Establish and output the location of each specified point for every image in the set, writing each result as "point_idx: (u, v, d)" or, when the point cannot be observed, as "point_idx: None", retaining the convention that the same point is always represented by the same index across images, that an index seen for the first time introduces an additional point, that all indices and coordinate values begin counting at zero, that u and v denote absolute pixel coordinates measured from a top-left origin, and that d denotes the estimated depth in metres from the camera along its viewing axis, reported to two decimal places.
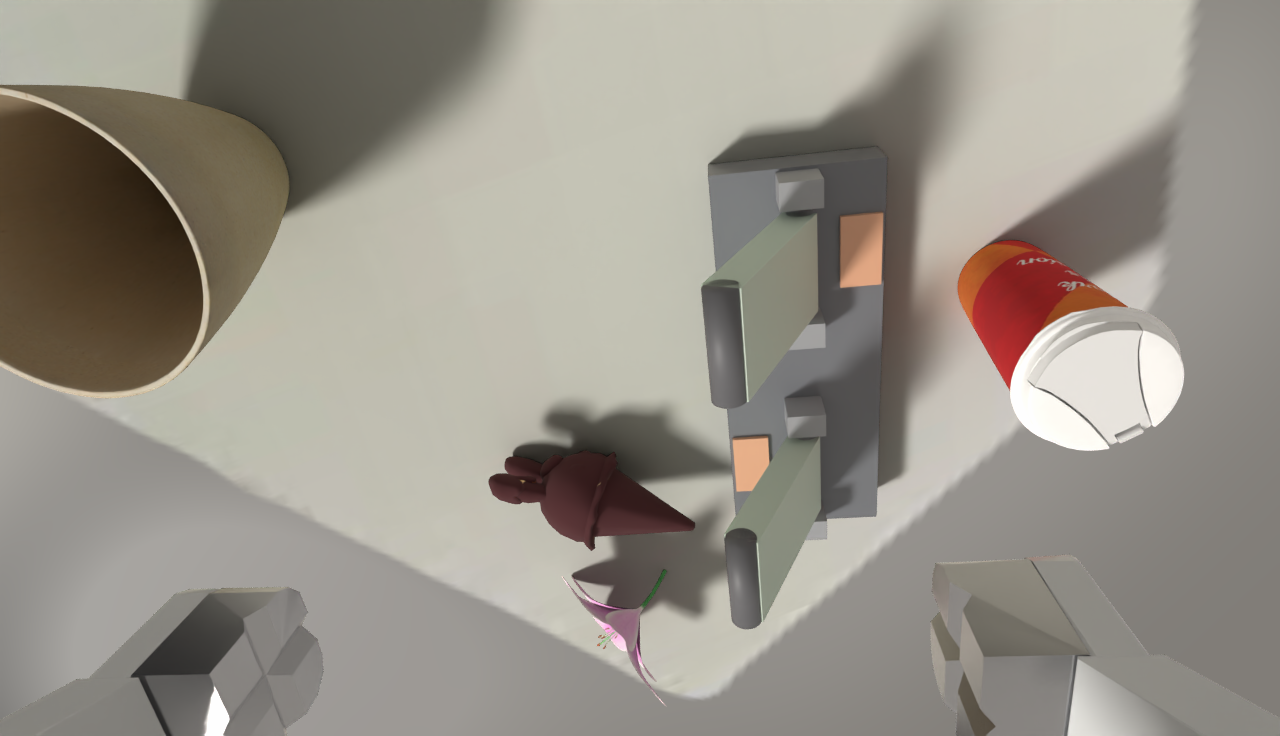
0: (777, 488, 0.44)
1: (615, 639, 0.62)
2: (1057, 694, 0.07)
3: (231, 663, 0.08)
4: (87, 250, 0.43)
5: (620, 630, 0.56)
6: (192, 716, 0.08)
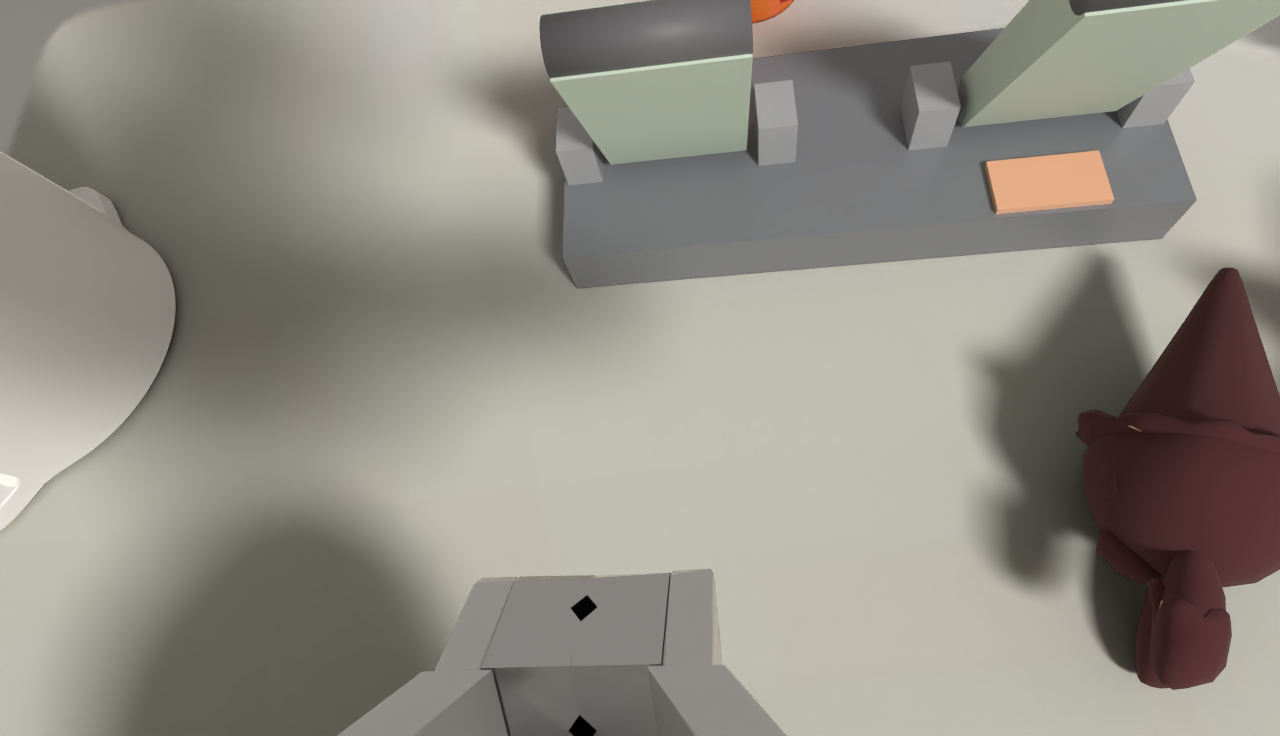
0: (1015, 37, 0.25)
1: None
2: (642, 700, 0.08)
3: (577, 654, 0.08)
4: None
5: None
6: (539, 711, 0.08)
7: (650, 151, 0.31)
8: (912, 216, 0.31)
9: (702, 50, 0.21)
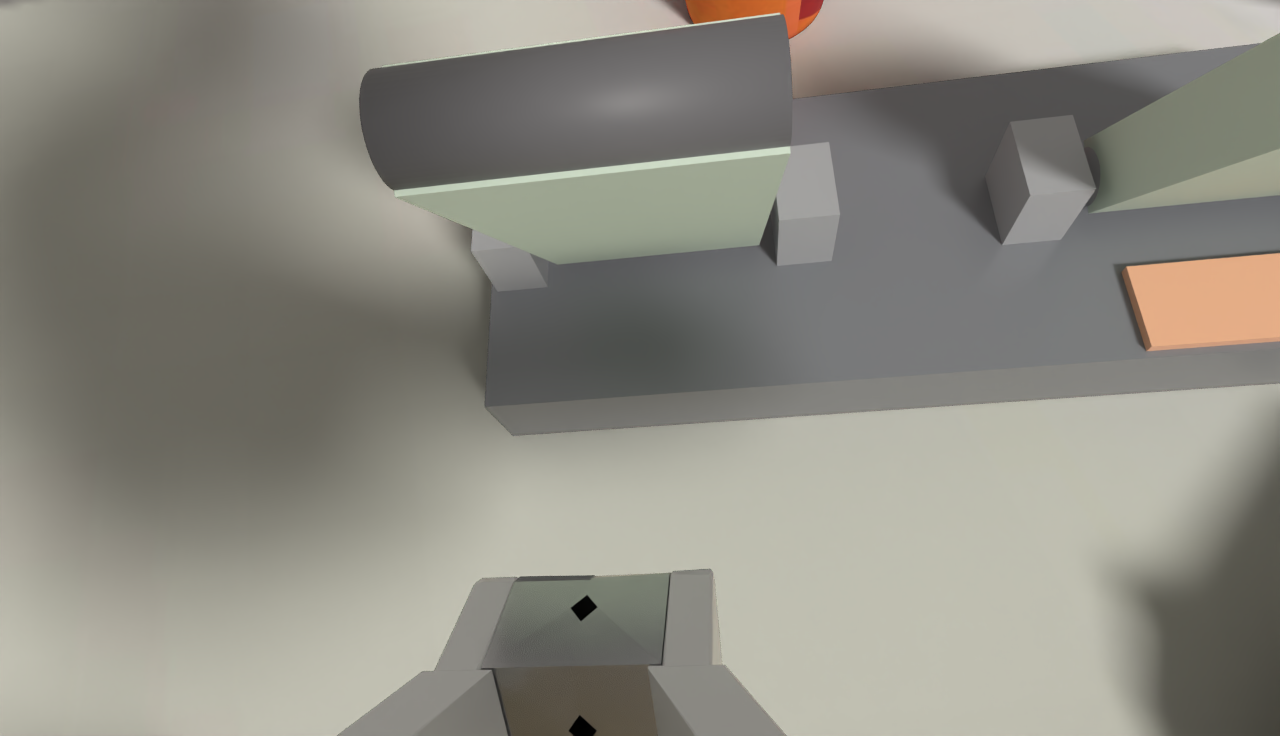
0: (1235, 93, 0.14)
1: None
2: (641, 700, 0.08)
3: (578, 654, 0.08)
4: None
5: None
6: (540, 711, 0.08)
7: (613, 252, 0.21)
8: (1015, 351, 0.20)
9: (689, 142, 0.11)
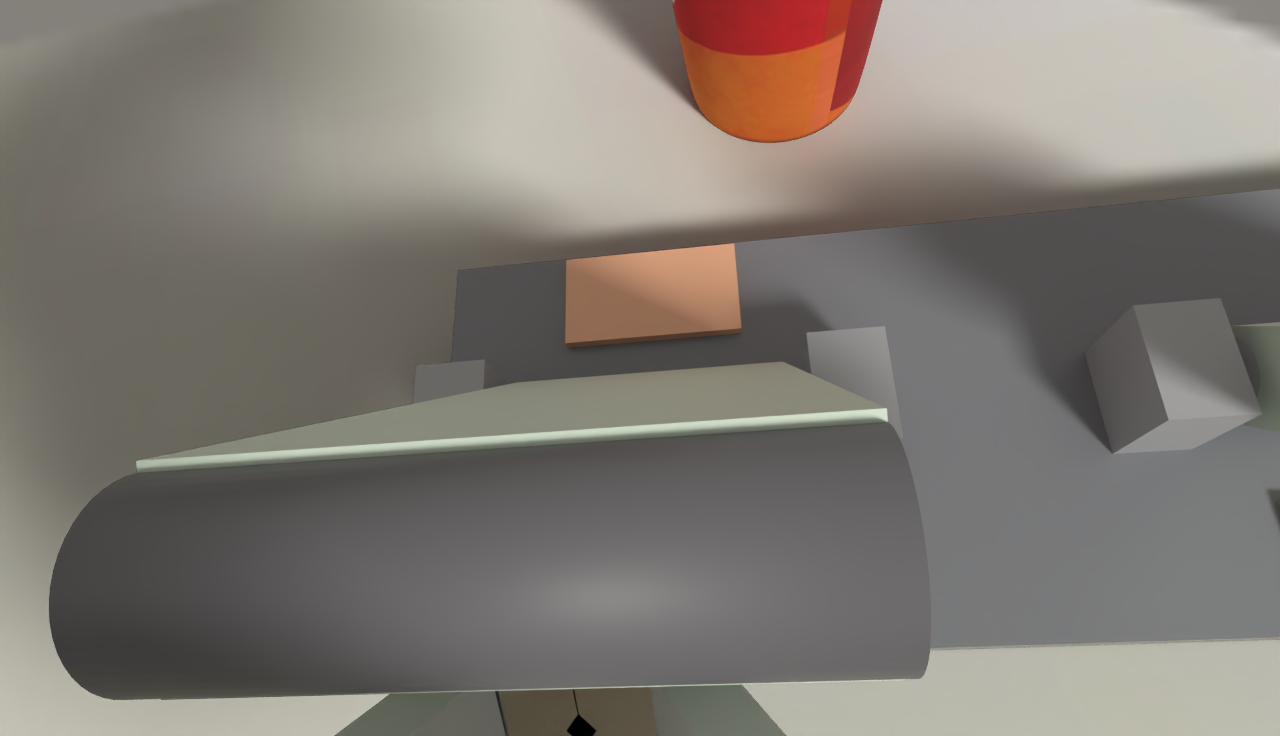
0: None
1: None
2: (641, 701, 0.08)
3: None
4: None
5: None
6: (538, 711, 0.08)
7: None
8: (1138, 616, 0.15)
9: None
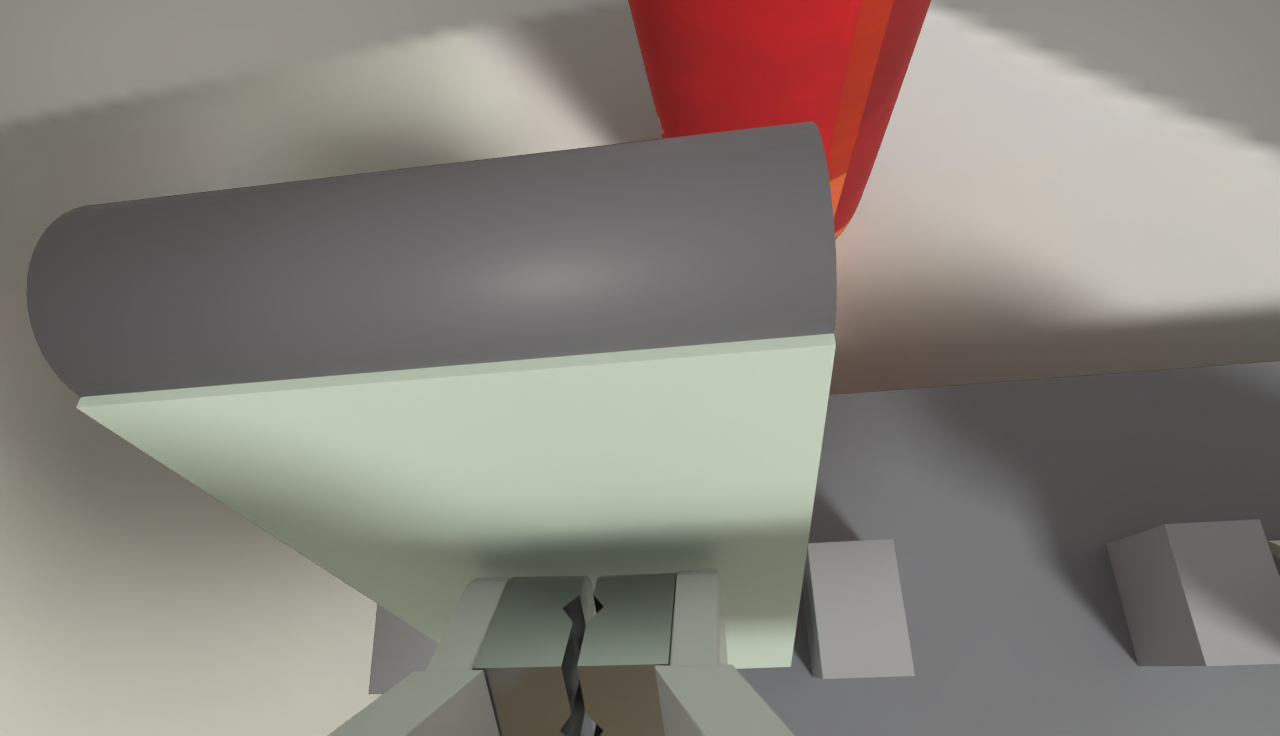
0: None
1: None
2: (649, 700, 0.08)
3: (569, 654, 0.08)
4: None
5: None
6: (531, 711, 0.08)
7: None
8: None
9: (631, 306, 0.05)
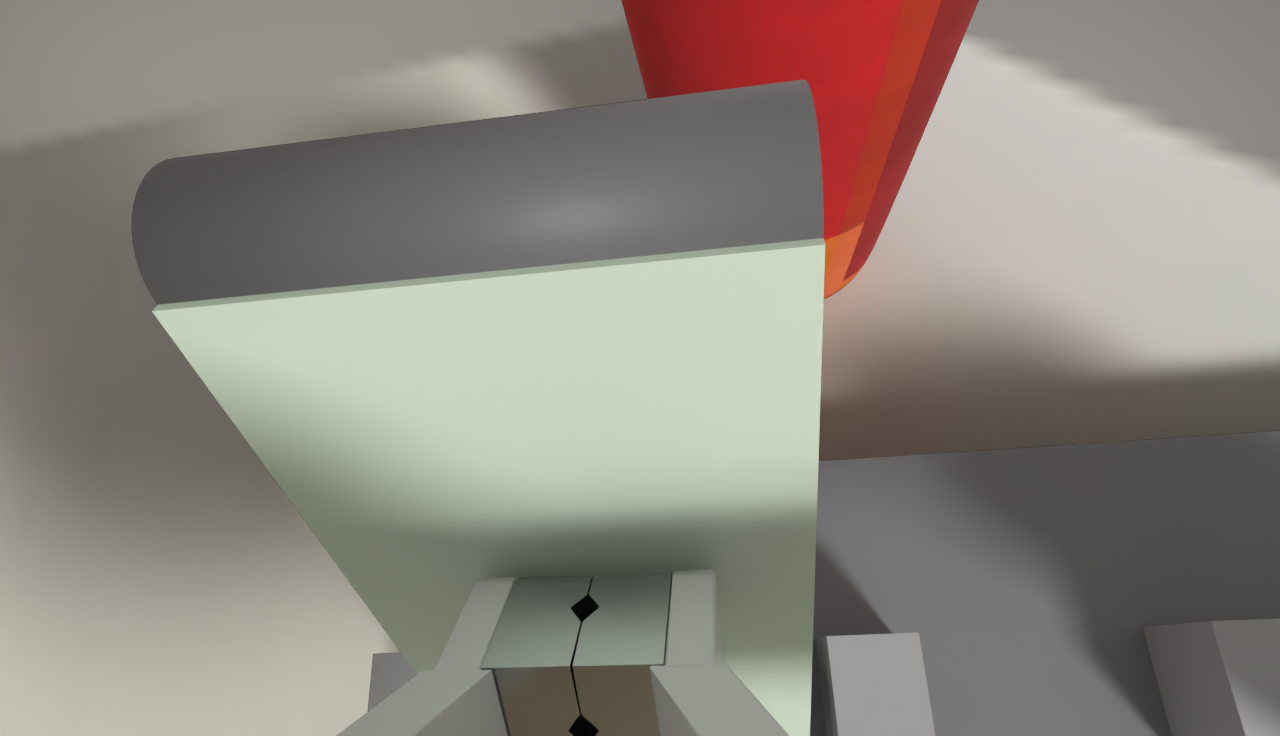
0: None
1: None
2: (643, 700, 0.08)
3: (577, 655, 0.08)
4: None
5: None
6: (539, 711, 0.08)
7: None
8: None
9: (647, 210, 0.06)
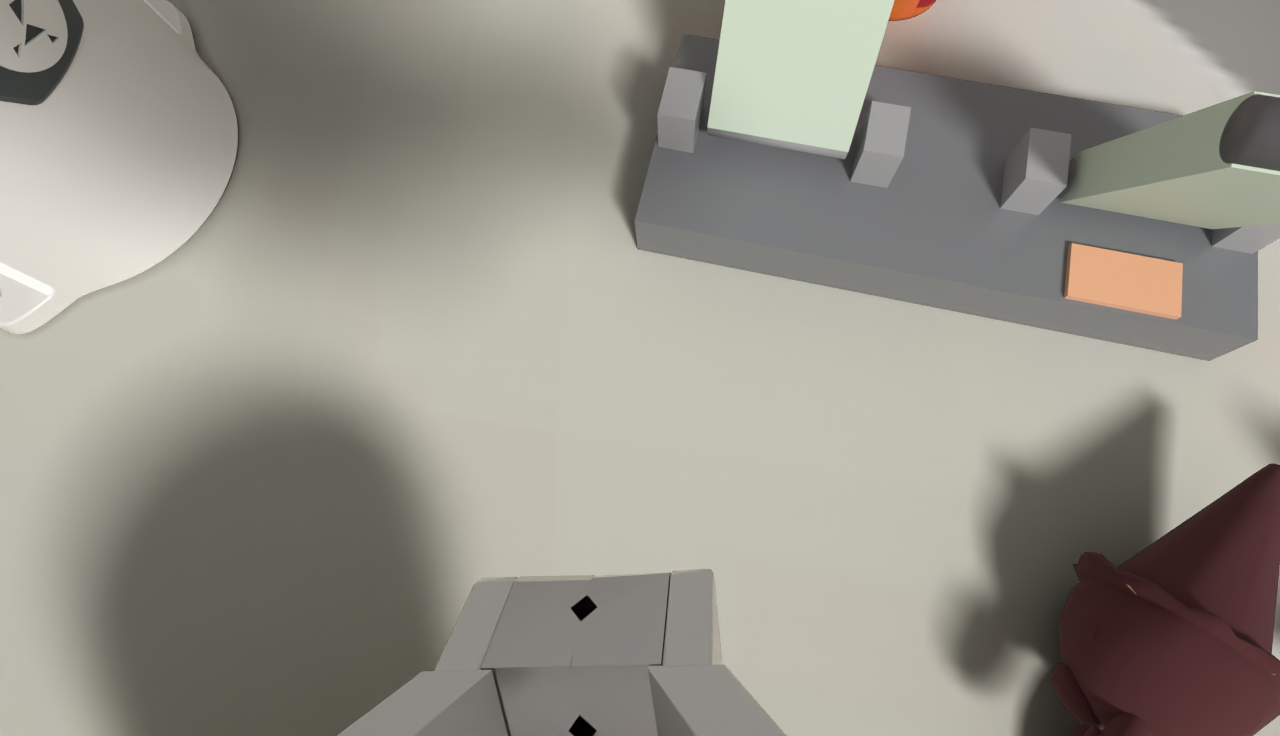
0: (1148, 146, 0.25)
1: None
2: (642, 700, 0.08)
3: (577, 654, 0.08)
4: None
5: None
6: (540, 711, 0.08)
7: (759, 100, 0.30)
8: (984, 276, 0.31)
9: None
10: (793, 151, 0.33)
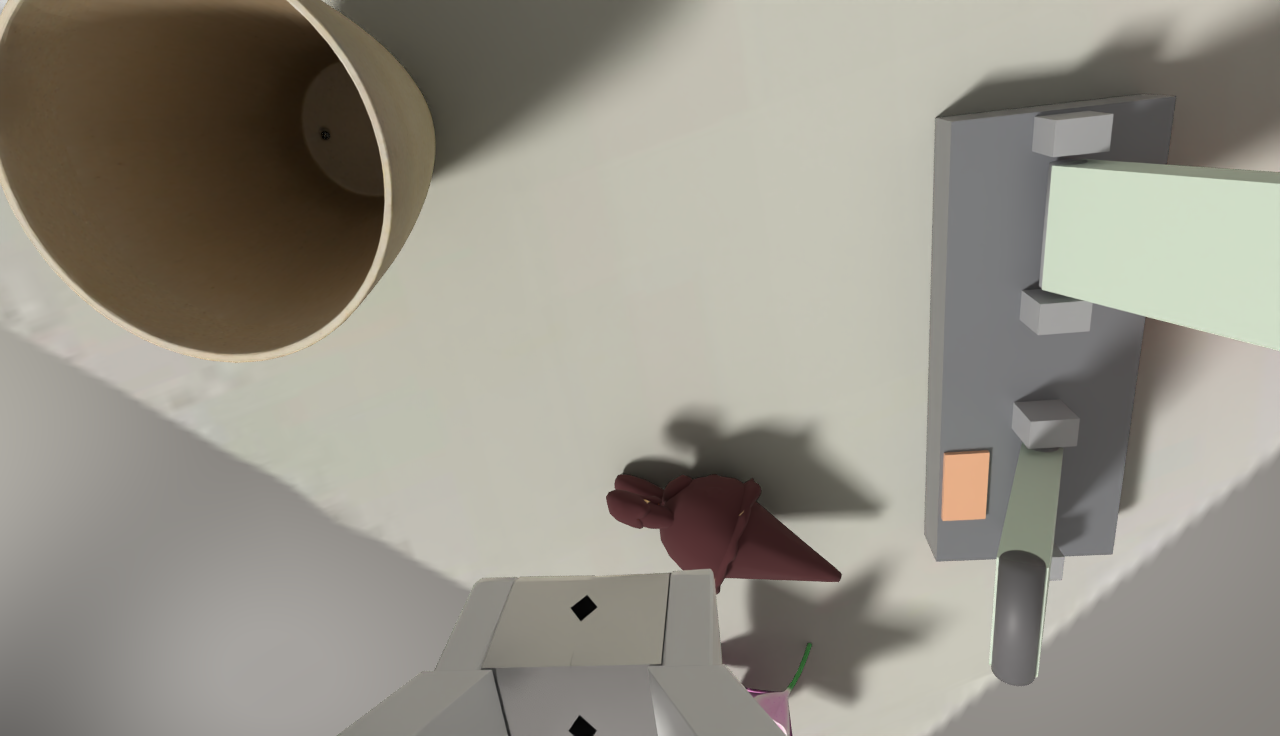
0: (1040, 504, 0.35)
1: None
2: (641, 700, 0.08)
3: (578, 654, 0.08)
4: (207, 202, 0.36)
5: (772, 718, 0.46)
6: (540, 711, 0.08)
7: (1077, 211, 0.34)
8: (950, 400, 0.41)
9: None
10: None
